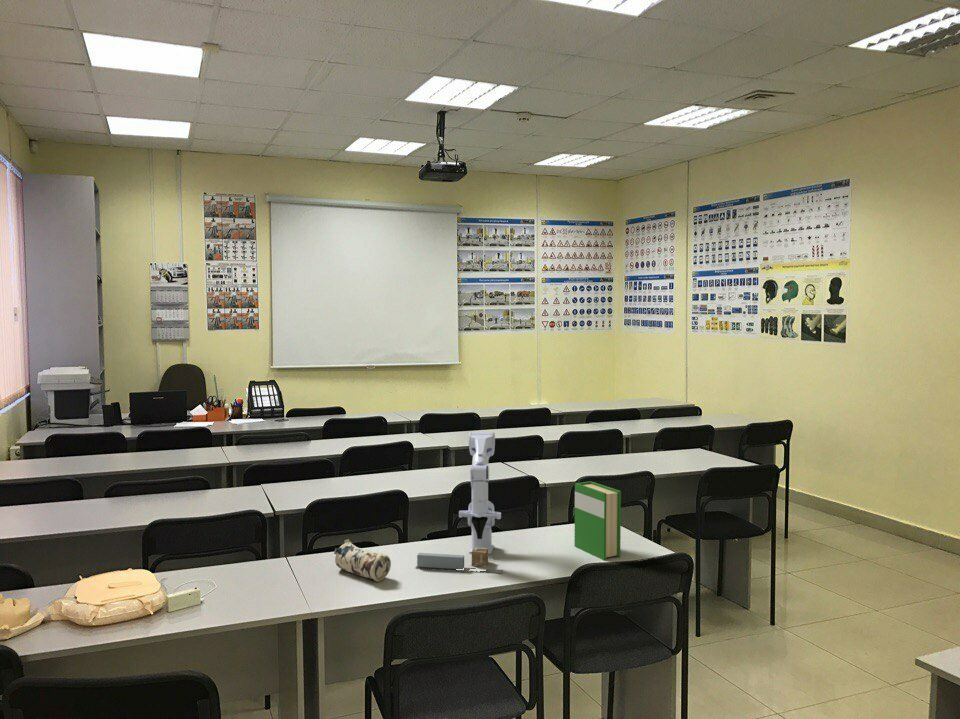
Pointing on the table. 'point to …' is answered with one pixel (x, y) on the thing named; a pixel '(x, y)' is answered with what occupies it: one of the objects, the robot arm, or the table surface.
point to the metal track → (464, 569)
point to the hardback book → (597, 519)
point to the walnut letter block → (480, 556)
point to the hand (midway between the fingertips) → (479, 538)
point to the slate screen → (440, 560)
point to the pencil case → (362, 562)
